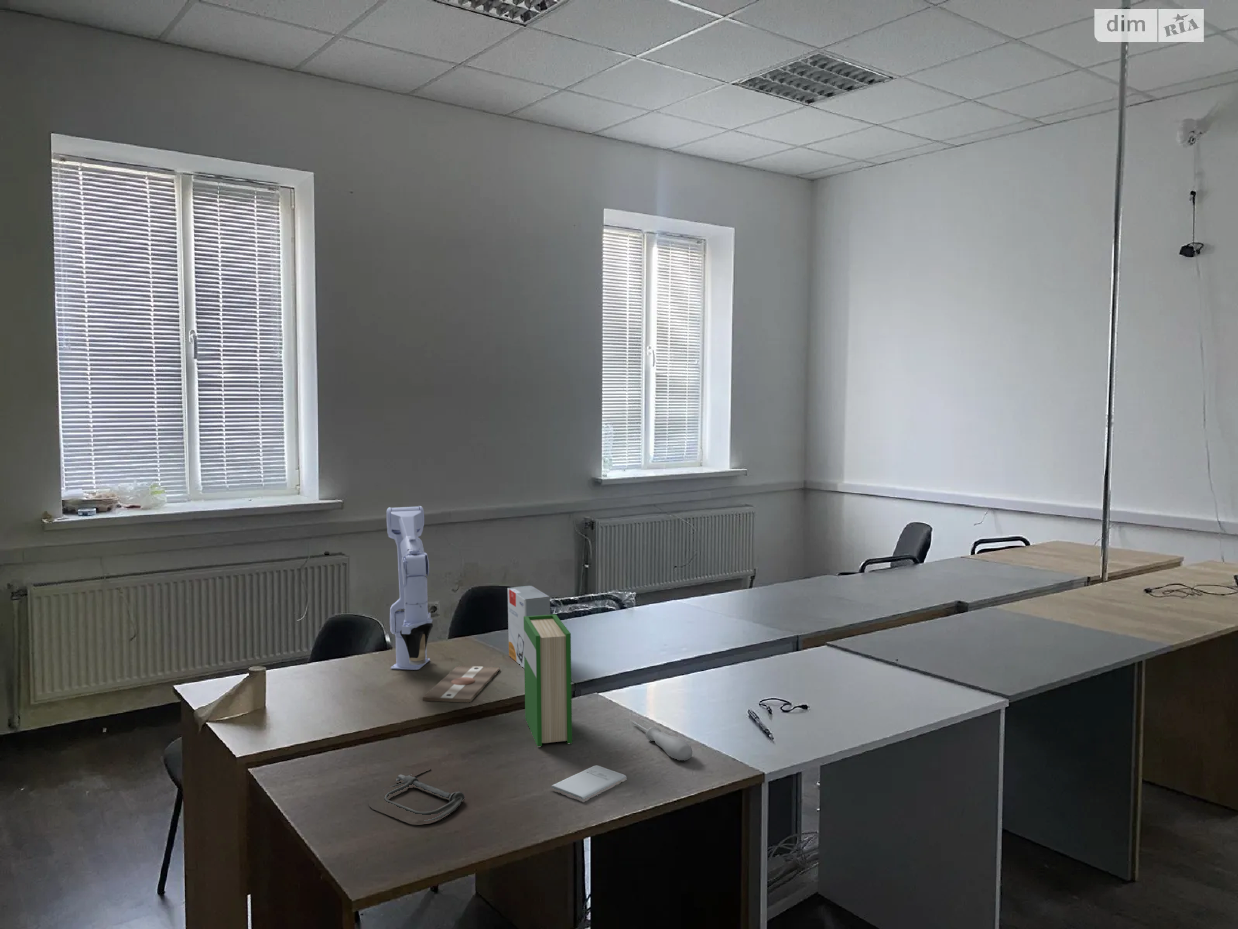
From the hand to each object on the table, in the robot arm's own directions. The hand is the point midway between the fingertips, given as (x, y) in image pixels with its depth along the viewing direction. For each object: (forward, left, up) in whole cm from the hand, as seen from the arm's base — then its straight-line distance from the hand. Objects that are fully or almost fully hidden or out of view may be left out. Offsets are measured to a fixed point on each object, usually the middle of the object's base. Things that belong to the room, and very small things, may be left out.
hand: (417, 655), depth 227 cm
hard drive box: (-27, +22, -9) cm, 36 cm away
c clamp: (+60, +24, -10) cm, 65 cm away
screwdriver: (+28, +64, -9) cm, 70 cm away
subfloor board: (-5, +10, -9) cm, 14 cm away
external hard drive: (+50, +53, -10) cm, 74 cm away
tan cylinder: (0, 0, -2) cm, 2 cm away
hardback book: (+24, +39, -9) cm, 47 cm away
